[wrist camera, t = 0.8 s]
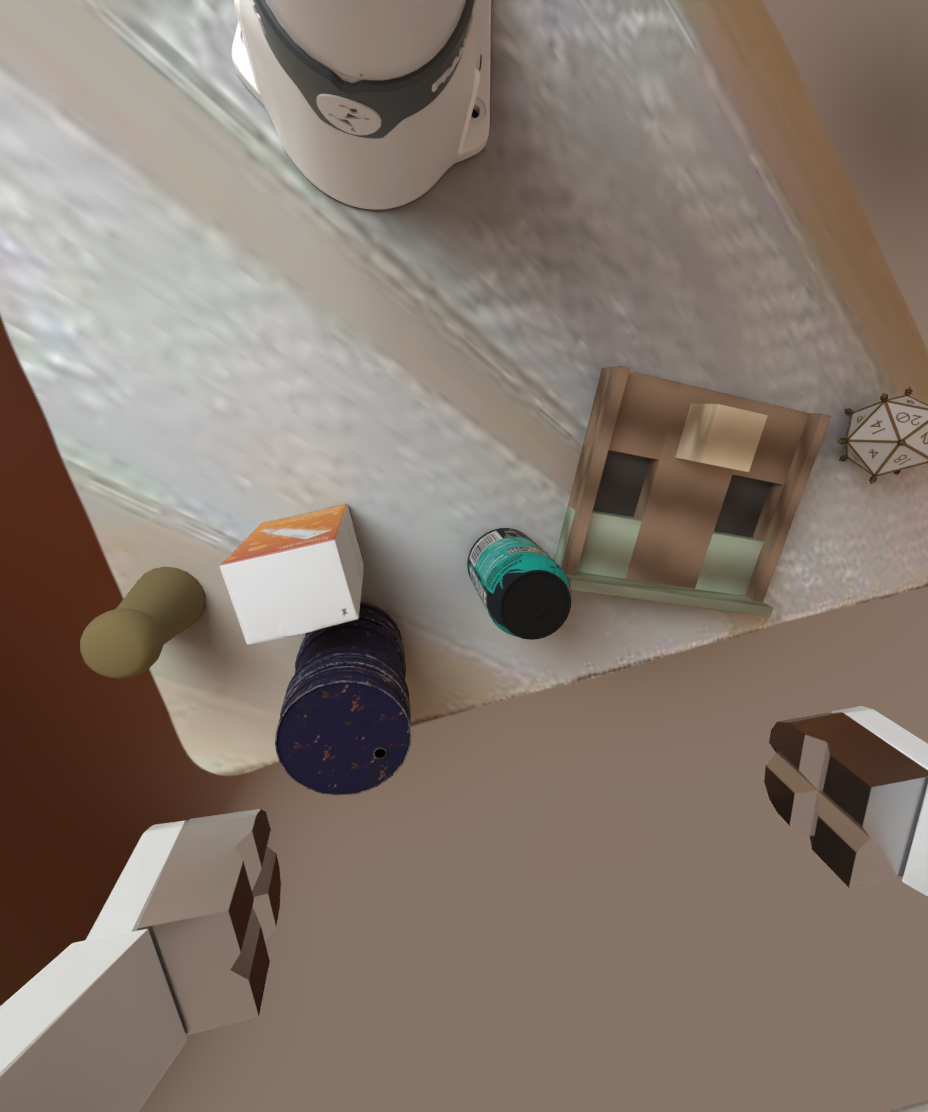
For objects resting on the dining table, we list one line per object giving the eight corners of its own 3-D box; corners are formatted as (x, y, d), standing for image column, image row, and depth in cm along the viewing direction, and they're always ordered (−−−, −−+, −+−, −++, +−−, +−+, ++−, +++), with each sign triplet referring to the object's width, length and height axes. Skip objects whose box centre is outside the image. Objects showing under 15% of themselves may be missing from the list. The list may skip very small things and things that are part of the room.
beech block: (691, 403, 48) (718, 403, 44) (737, 414, 49) (767, 415, 45) (675, 457, 49) (700, 462, 45) (720, 466, 50) (748, 472, 46)
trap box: (602, 368, 47) (627, 364, 43) (801, 414, 52) (844, 416, 47) (551, 572, 52) (568, 589, 48) (737, 598, 57) (769, 616, 52)
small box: (347, 501, 47) (337, 537, 35) (365, 565, 49) (361, 621, 37) (258, 521, 46) (216, 565, 34) (280, 585, 48) (247, 649, 36)
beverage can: (520, 601, 53) (559, 656, 42) (456, 583, 51) (479, 635, 40) (545, 537, 51) (592, 576, 40) (480, 517, 50) (510, 552, 38)
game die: (809, 440, 57) (818, 455, 49) (874, 369, 52) (896, 372, 44) (885, 486, 55) (908, 510, 47) (960, 416, 51) (1000, 429, 42)
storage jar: (285, 668, 51) (249, 771, 37) (329, 584, 49) (310, 658, 35) (375, 704, 54) (375, 813, 39) (421, 626, 52) (437, 710, 38)
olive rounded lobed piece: (209, 626, 48) (163, 688, 38) (139, 630, 48) (73, 694, 37) (200, 565, 47) (150, 613, 36) (128, 568, 46) (55, 617, 35)
